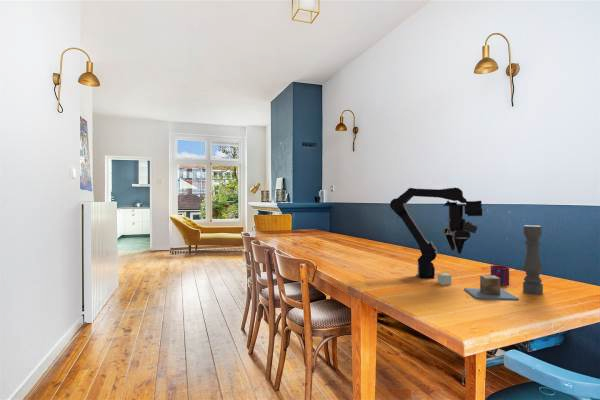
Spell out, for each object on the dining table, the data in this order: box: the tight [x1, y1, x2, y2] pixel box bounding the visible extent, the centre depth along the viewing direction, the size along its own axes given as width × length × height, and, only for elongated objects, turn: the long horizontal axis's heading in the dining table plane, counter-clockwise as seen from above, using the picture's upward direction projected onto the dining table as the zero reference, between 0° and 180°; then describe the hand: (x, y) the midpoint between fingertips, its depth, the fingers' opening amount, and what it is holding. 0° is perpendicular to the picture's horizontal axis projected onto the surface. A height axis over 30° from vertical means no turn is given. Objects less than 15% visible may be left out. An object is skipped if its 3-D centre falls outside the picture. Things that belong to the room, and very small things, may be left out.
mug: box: [490, 264, 510, 286], centre depth 141 cm, size 7×10×7 cm
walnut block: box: [479, 274, 501, 295], centre depth 125 cm, size 5×5×6 cm
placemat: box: [463, 287, 519, 301], centre depth 125 cm, size 14×12×1 cm
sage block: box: [437, 272, 452, 286], centre depth 142 cm, size 4×4×4 cm
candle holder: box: [522, 224, 544, 296], centre depth 128 cm, size 6×6×25 cm
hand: (456, 252), depth 149 cm, fingers open, 9 cm apart
